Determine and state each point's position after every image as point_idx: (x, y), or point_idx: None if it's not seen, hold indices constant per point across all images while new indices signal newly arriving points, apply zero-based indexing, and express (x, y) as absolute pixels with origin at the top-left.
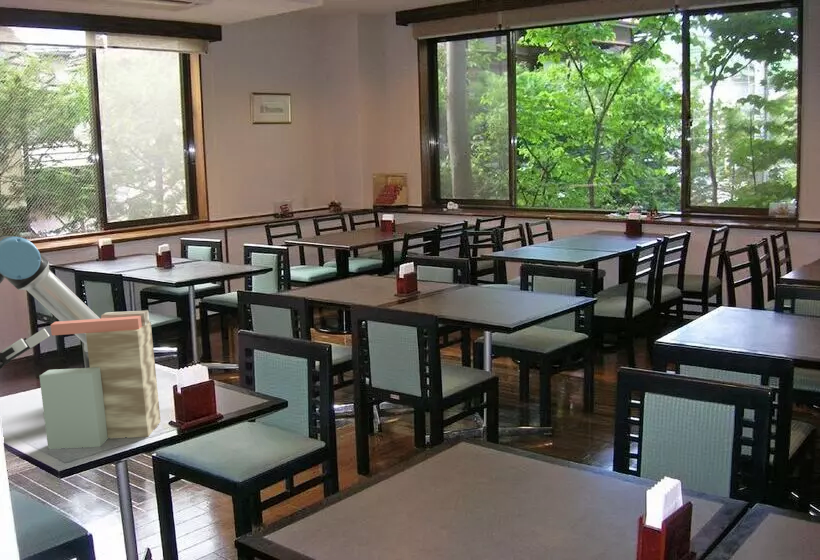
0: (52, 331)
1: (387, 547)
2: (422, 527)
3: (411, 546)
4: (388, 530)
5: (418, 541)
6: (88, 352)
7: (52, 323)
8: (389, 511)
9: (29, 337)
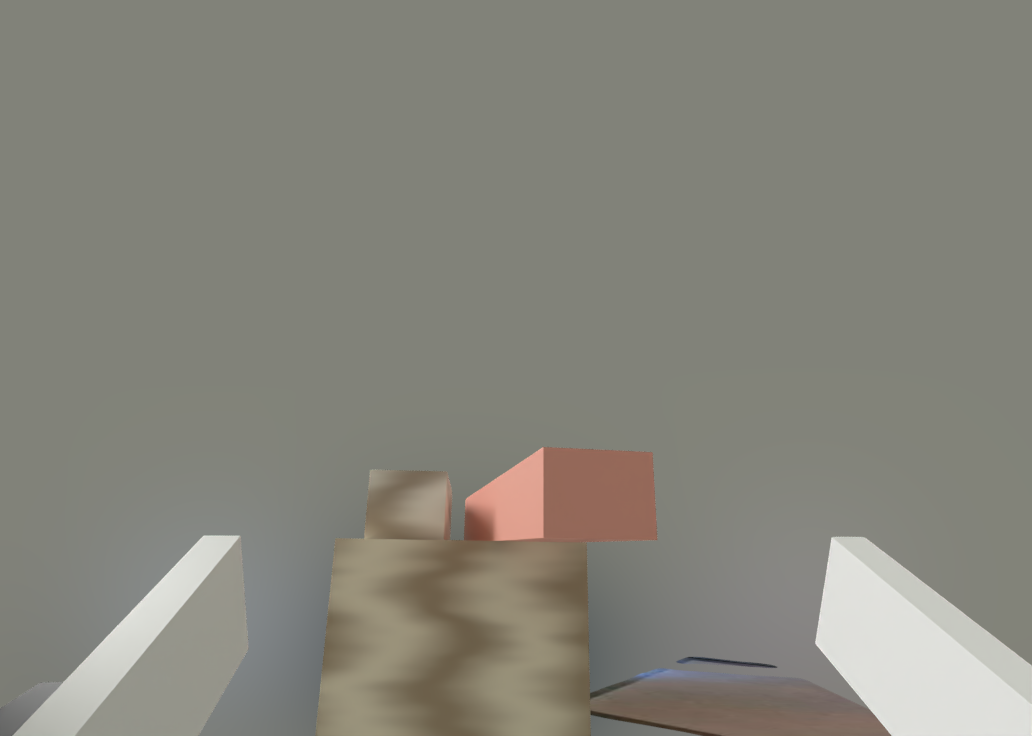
0: (652, 507)
1: None
2: (836, 720)
3: None
4: (863, 731)
5: (870, 721)
6: (588, 663)
7: (611, 450)
8: (815, 732)
9: (84, 722)
